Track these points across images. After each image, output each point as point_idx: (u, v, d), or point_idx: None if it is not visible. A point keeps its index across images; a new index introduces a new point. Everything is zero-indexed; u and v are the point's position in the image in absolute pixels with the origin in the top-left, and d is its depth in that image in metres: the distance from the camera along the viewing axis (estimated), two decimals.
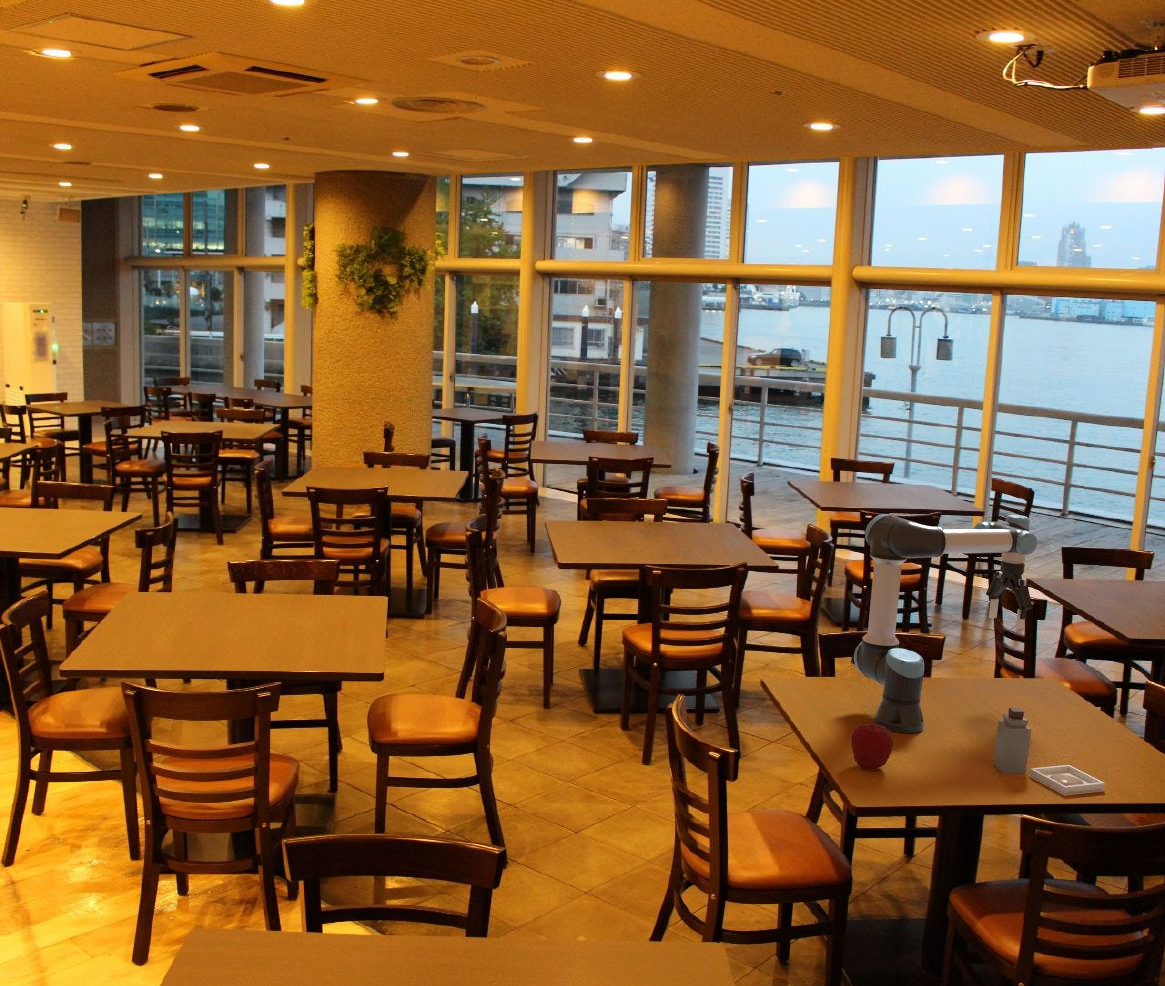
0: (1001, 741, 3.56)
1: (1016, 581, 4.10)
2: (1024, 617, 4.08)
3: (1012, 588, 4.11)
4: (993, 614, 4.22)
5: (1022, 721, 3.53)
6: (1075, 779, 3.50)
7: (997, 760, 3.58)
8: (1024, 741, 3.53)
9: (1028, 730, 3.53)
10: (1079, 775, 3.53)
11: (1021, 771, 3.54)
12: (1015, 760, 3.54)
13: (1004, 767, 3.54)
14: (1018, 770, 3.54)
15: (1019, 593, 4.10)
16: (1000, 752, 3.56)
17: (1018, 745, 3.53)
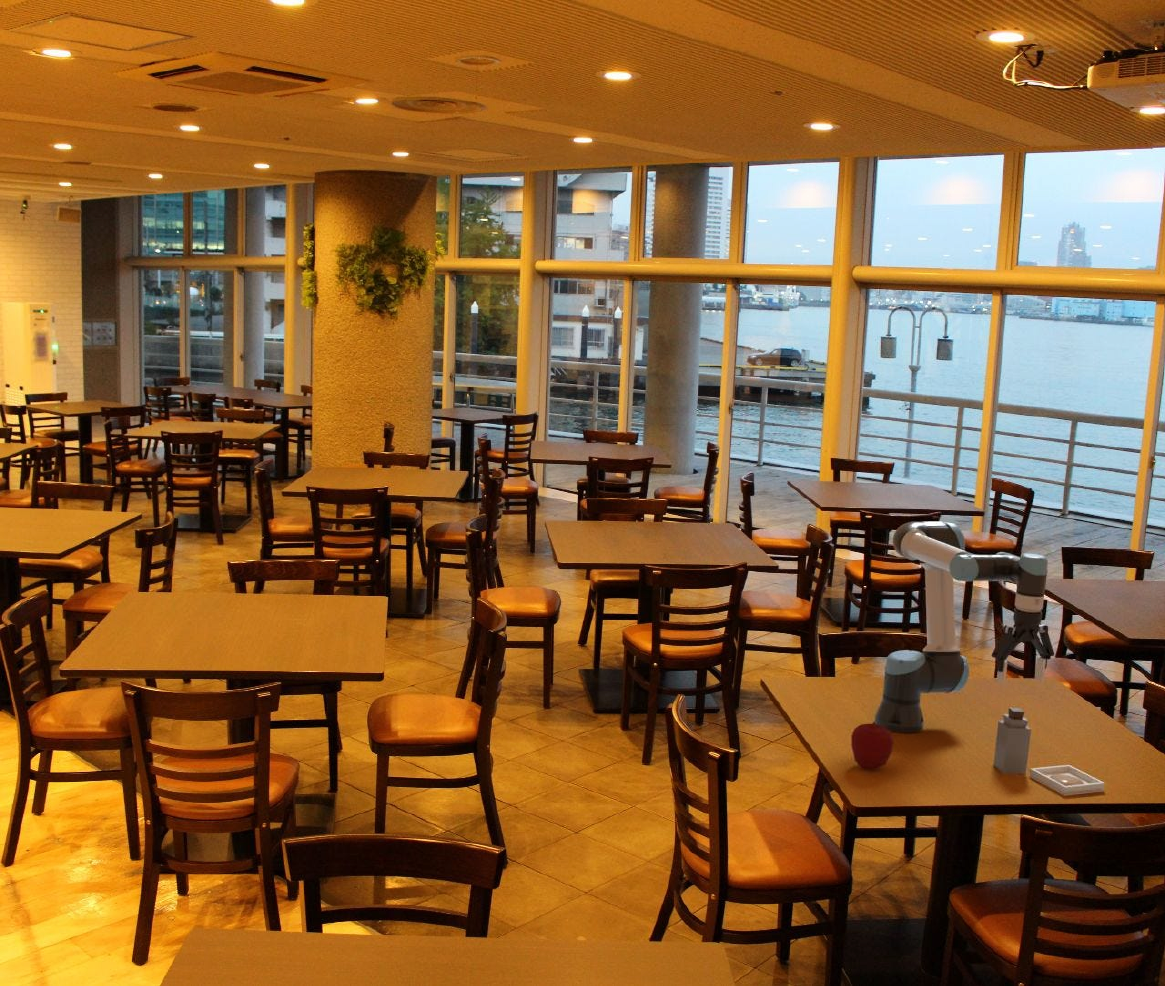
0: (1001, 741, 3.56)
1: None
2: (998, 668, 3.50)
3: None
4: (1038, 675, 3.56)
5: (1022, 721, 3.53)
6: (1075, 779, 3.50)
7: (997, 760, 3.58)
8: (1024, 741, 3.53)
9: (1028, 730, 3.53)
10: (1079, 775, 3.53)
11: (1021, 771, 3.54)
12: (1015, 760, 3.54)
13: (1004, 767, 3.54)
14: (1018, 770, 3.54)
15: (1010, 643, 3.50)
16: (1000, 752, 3.56)
17: (1018, 746, 3.53)
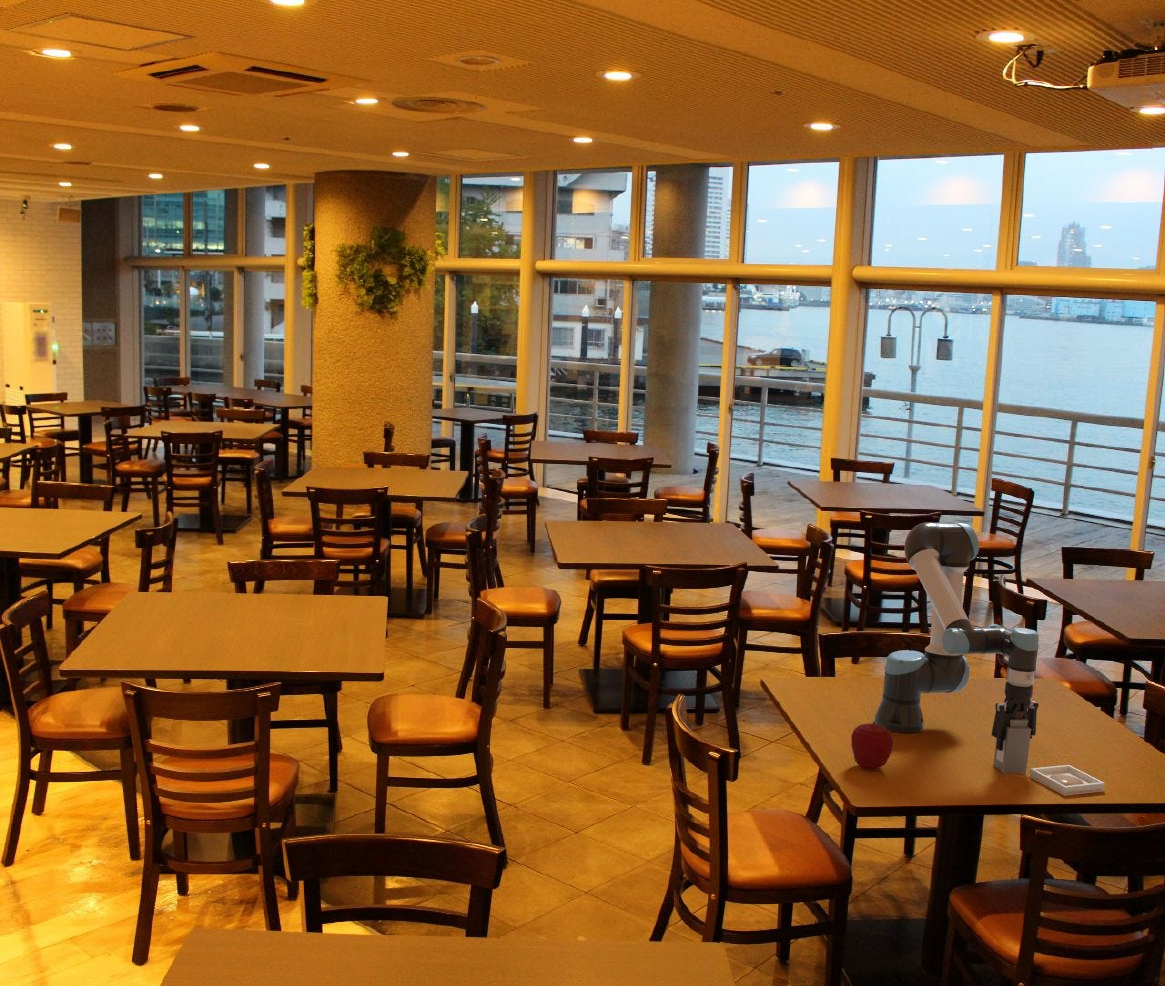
0: None
1: None
2: (998, 747, 3.55)
3: None
4: None
5: (1022, 721, 3.53)
6: (1075, 779, 3.50)
7: (997, 760, 3.58)
8: (1024, 741, 3.53)
9: (1028, 730, 3.53)
10: (1079, 775, 3.53)
11: (1021, 771, 3.54)
12: (1015, 760, 3.54)
13: (1004, 767, 3.54)
14: (1018, 770, 3.54)
15: (1005, 720, 3.54)
16: None
17: (1018, 745, 3.53)
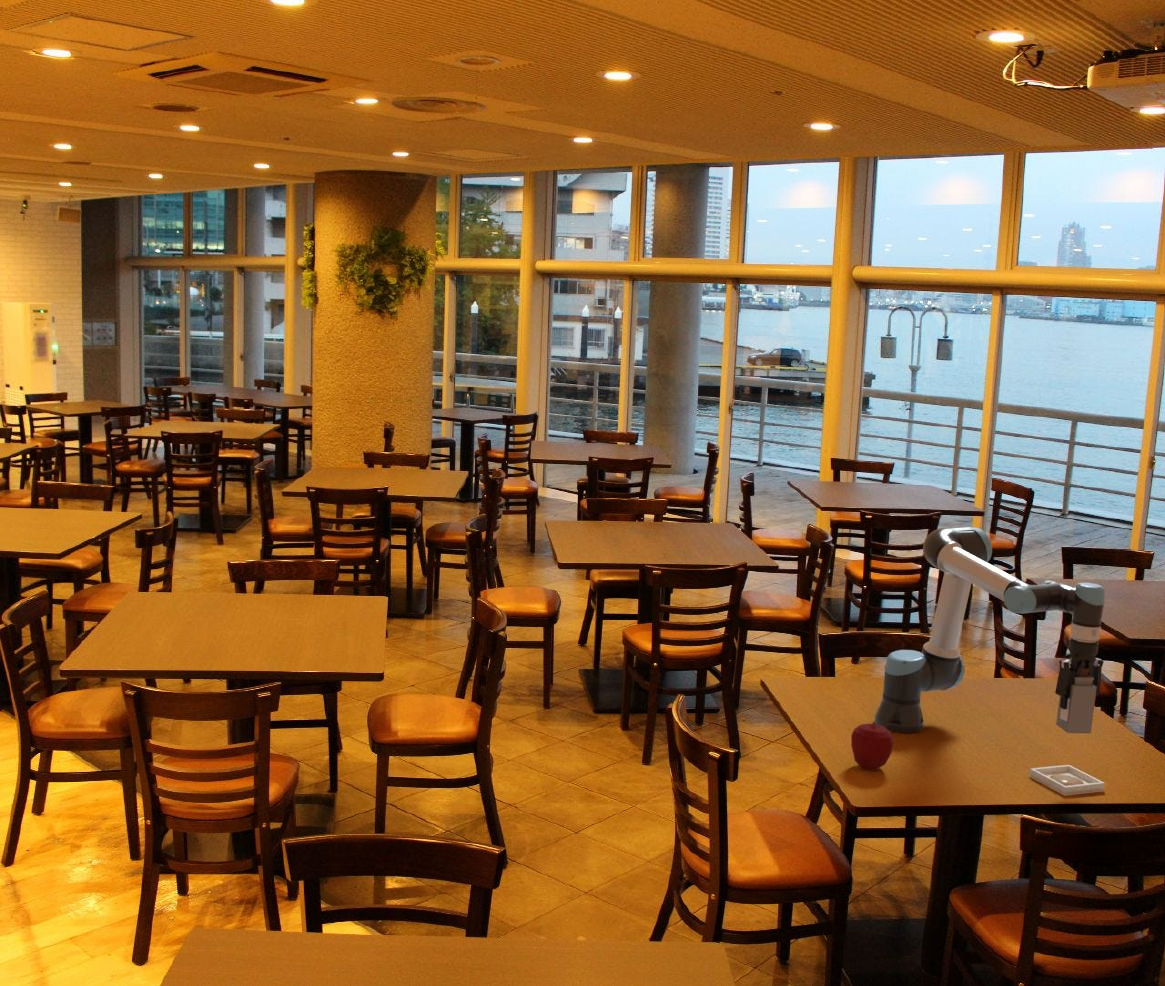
0: None
1: None
2: (1062, 706, 3.44)
3: None
4: None
5: (1087, 678, 3.42)
6: (1075, 779, 3.50)
7: (1061, 720, 3.47)
8: (1090, 699, 3.42)
9: (1093, 688, 3.41)
10: (1079, 775, 3.53)
11: (1086, 730, 3.43)
12: (1080, 719, 3.43)
13: (1069, 726, 3.43)
14: (1083, 729, 3.43)
15: (1069, 677, 3.43)
16: None
17: (1083, 704, 3.42)
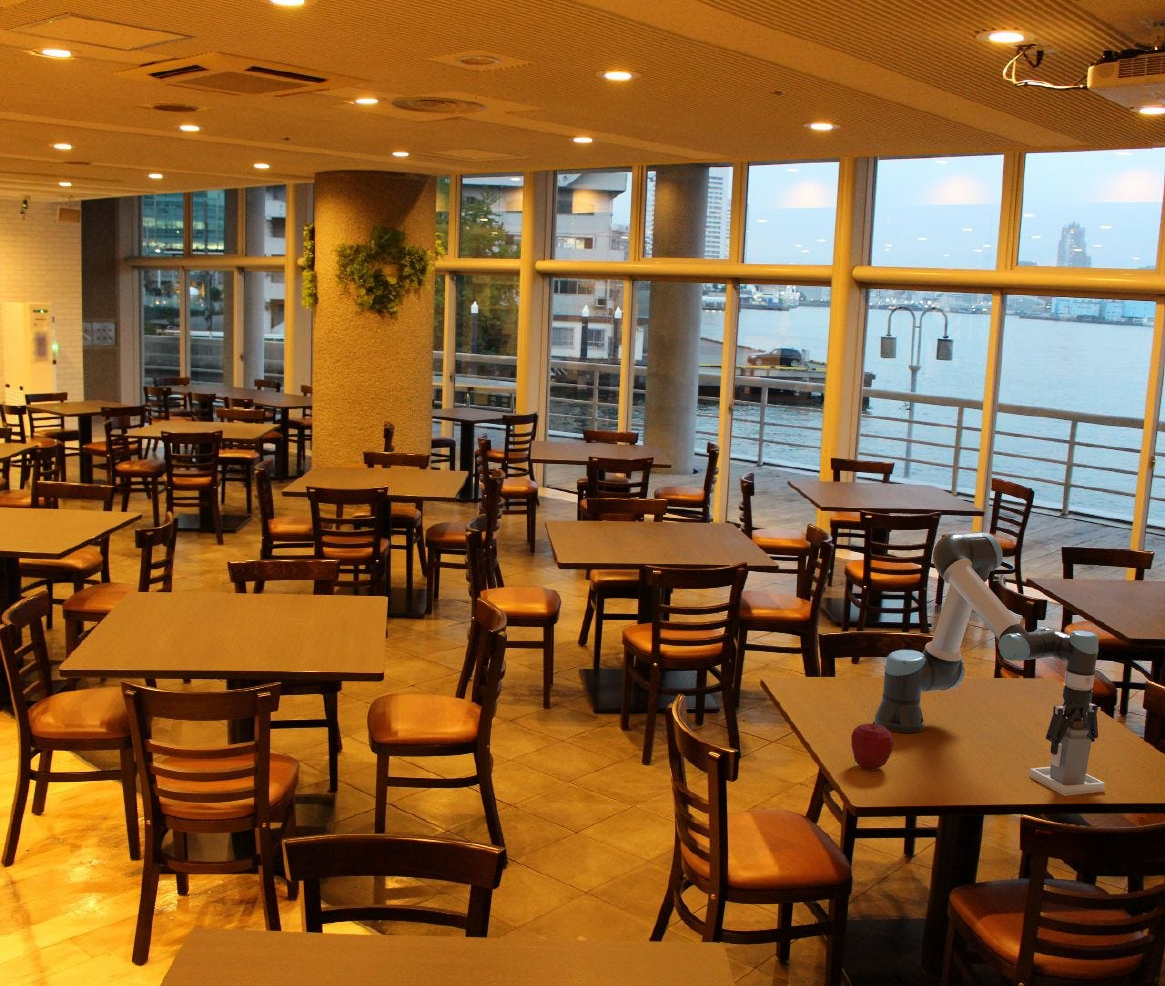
0: None
1: None
2: (1052, 751, 3.45)
3: None
4: None
5: (1082, 731, 3.44)
6: None
7: (1055, 771, 3.49)
8: (1084, 751, 3.44)
9: (1088, 741, 3.44)
10: None
11: (1079, 782, 3.46)
12: (1074, 771, 3.45)
13: (1063, 778, 3.45)
14: (1077, 781, 3.46)
15: (1062, 723, 3.45)
16: None
17: (1078, 756, 3.44)
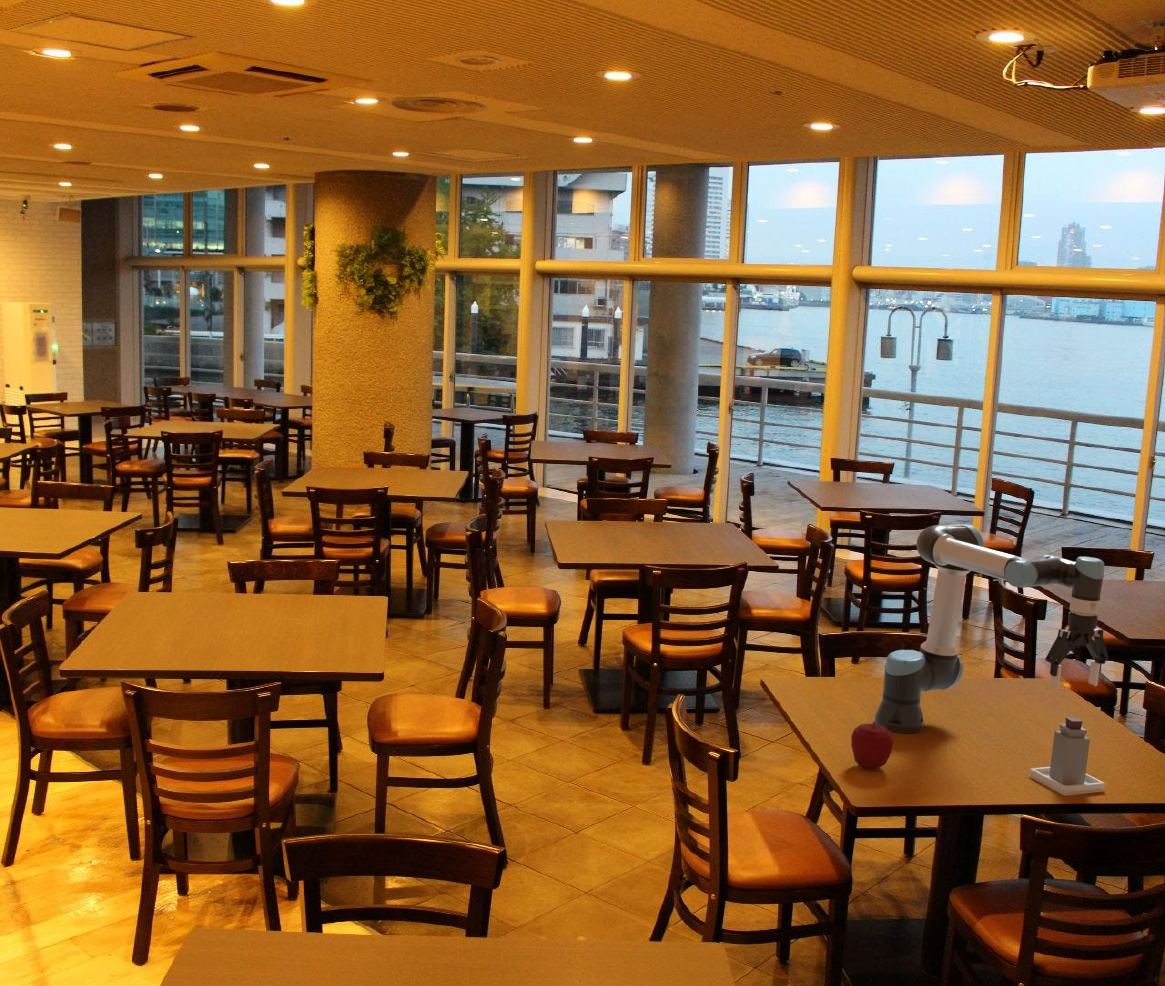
0: (1059, 752, 3.47)
1: None
2: (1052, 673, 3.45)
3: None
4: (1092, 680, 3.51)
5: (1081, 731, 3.44)
6: None
7: (1054, 771, 3.49)
8: (1083, 751, 3.44)
9: (1087, 740, 3.44)
10: None
11: (1079, 782, 3.46)
12: (1074, 771, 3.45)
13: (1063, 778, 3.45)
14: (1077, 781, 3.46)
15: (1064, 647, 3.45)
16: (1058, 763, 3.47)
17: (1077, 756, 3.44)
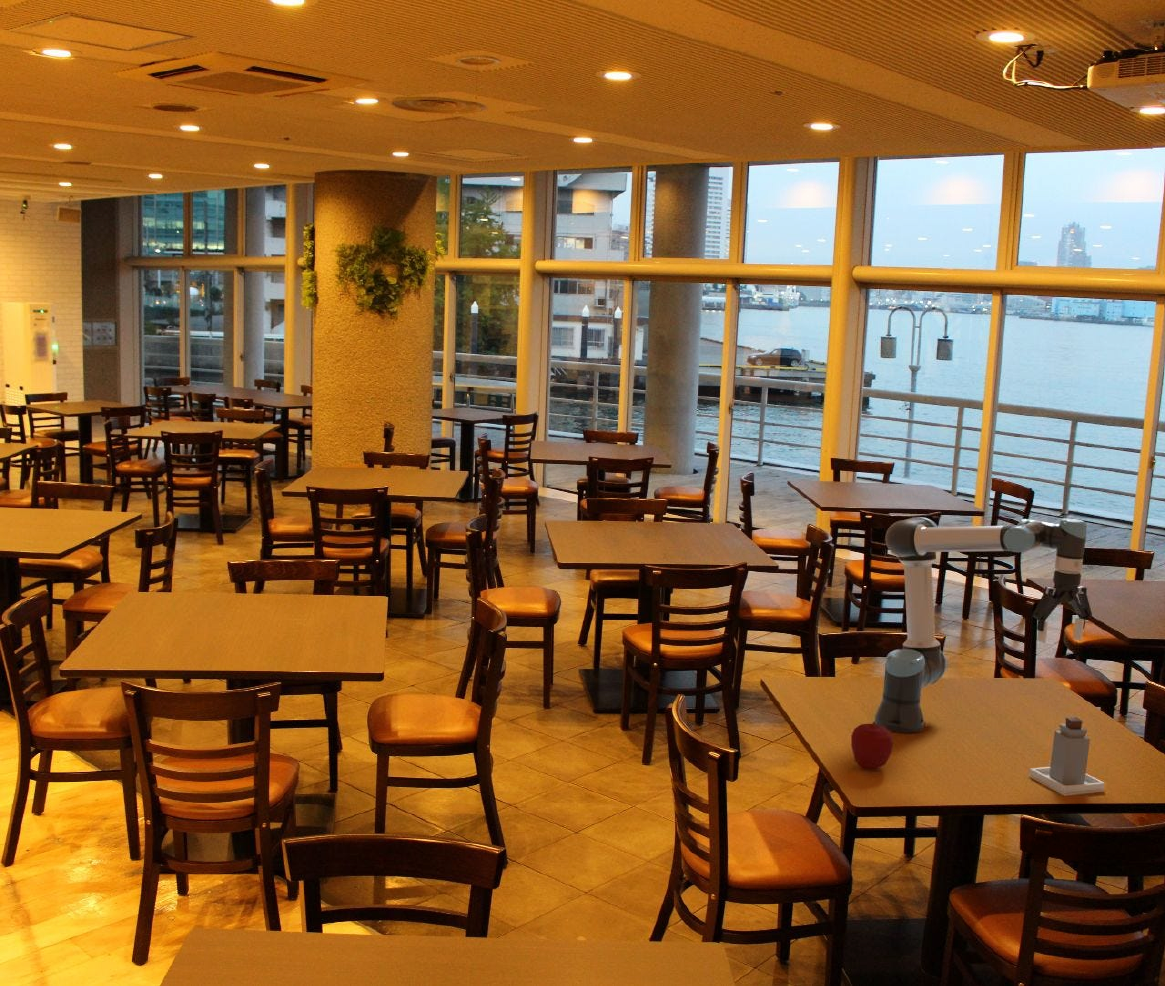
0: (1059, 752, 3.47)
1: None
2: (1039, 628, 3.66)
3: None
4: (1076, 635, 3.72)
5: (1081, 731, 3.44)
6: None
7: (1054, 771, 3.49)
8: (1083, 751, 3.44)
9: (1087, 740, 3.44)
10: None
11: (1079, 782, 3.46)
12: (1074, 771, 3.45)
13: (1063, 778, 3.45)
14: (1077, 781, 3.46)
15: (1050, 603, 3.66)
16: (1058, 763, 3.47)
17: (1077, 756, 3.44)
